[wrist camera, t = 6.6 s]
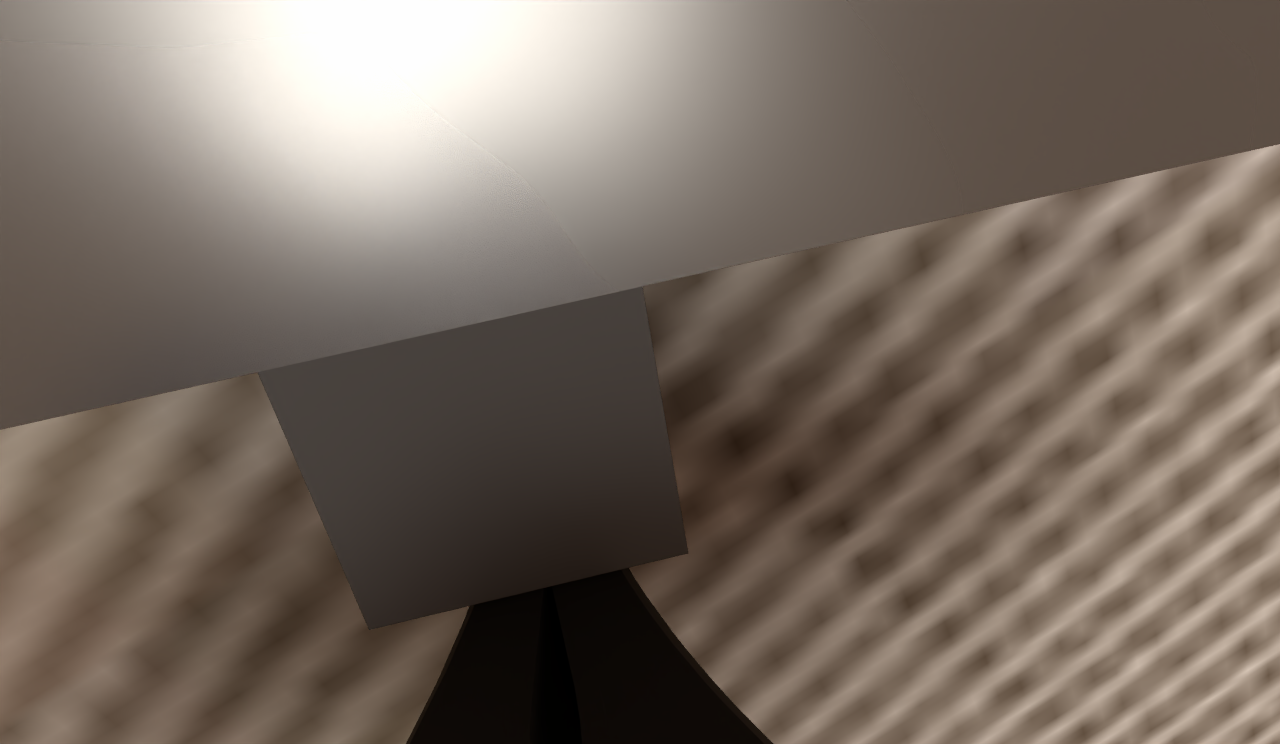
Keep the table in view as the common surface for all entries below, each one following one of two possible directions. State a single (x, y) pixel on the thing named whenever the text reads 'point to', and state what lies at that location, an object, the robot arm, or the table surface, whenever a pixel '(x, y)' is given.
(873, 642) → the table surface
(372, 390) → the push rod
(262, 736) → the table surface
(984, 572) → the table surface
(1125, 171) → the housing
